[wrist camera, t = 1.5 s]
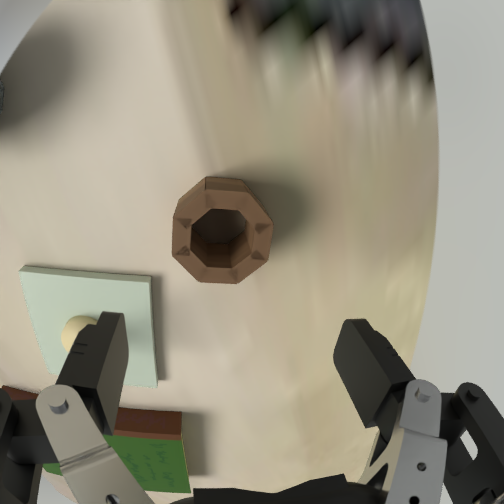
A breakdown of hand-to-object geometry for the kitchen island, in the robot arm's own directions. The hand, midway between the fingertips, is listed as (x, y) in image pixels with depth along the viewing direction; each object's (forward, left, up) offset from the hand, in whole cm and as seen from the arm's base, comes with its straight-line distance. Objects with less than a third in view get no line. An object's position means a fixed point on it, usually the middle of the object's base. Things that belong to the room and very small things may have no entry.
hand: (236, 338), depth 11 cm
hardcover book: (+32, -15, -14) cm, 38 cm away
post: (+11, -11, -13) cm, 20 cm away
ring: (0, 0, -13) cm, 13 cm away
